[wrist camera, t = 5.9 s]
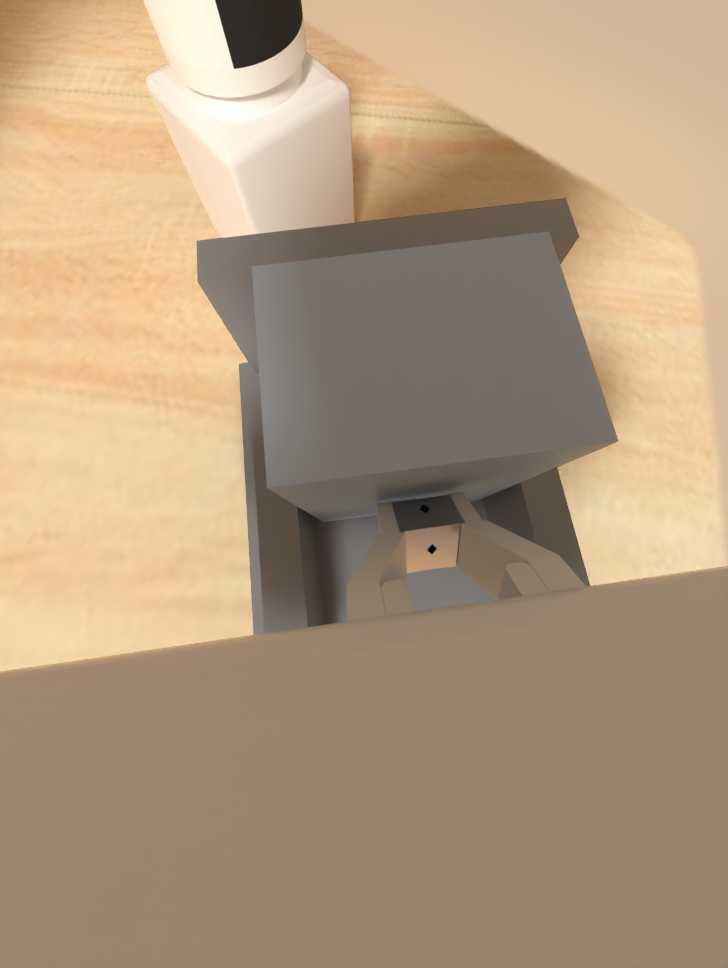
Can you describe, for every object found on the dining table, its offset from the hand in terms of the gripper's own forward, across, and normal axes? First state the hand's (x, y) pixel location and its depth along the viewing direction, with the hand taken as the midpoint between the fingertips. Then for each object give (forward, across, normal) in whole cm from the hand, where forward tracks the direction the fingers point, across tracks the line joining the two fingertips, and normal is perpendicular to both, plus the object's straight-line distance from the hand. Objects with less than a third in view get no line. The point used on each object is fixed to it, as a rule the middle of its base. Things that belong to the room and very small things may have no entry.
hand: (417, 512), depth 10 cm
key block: (+6, 0, +1) cm, 6 cm away
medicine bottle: (+19, +5, -10) cm, 22 cm away
